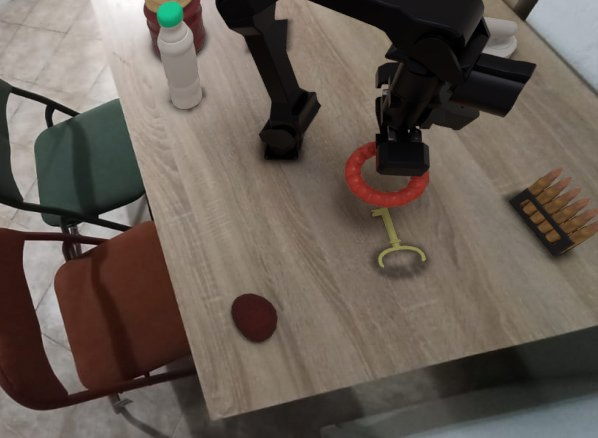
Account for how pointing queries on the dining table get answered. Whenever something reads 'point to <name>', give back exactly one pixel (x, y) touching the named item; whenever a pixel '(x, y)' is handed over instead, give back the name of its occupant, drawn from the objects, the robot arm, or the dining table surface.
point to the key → (392, 235)
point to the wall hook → (501, 37)
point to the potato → (254, 316)
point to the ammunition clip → (555, 213)
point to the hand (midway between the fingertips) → (385, 147)
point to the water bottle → (178, 56)
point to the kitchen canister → (190, 17)
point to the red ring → (376, 196)
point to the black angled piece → (283, 29)
